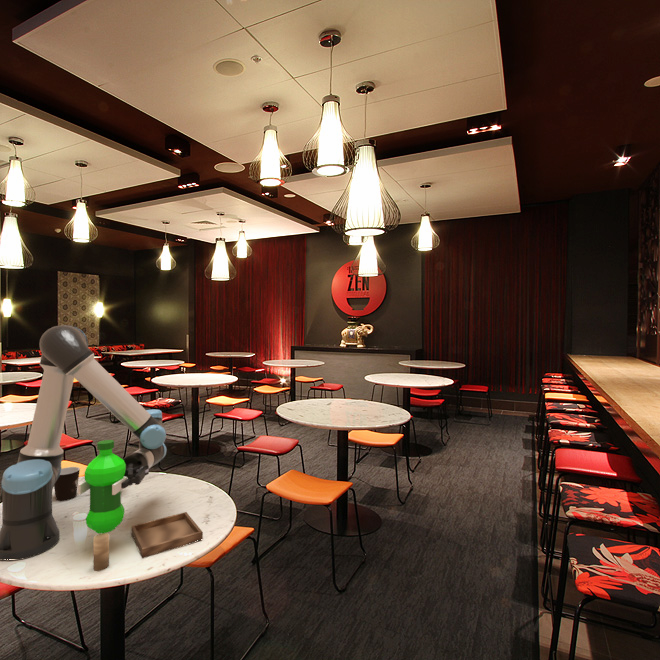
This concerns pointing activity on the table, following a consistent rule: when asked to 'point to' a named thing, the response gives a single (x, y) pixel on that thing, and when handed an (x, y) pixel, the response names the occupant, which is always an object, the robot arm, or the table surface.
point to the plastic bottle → (104, 489)
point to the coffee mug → (67, 484)
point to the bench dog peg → (101, 551)
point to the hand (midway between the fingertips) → (96, 489)
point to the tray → (165, 534)
